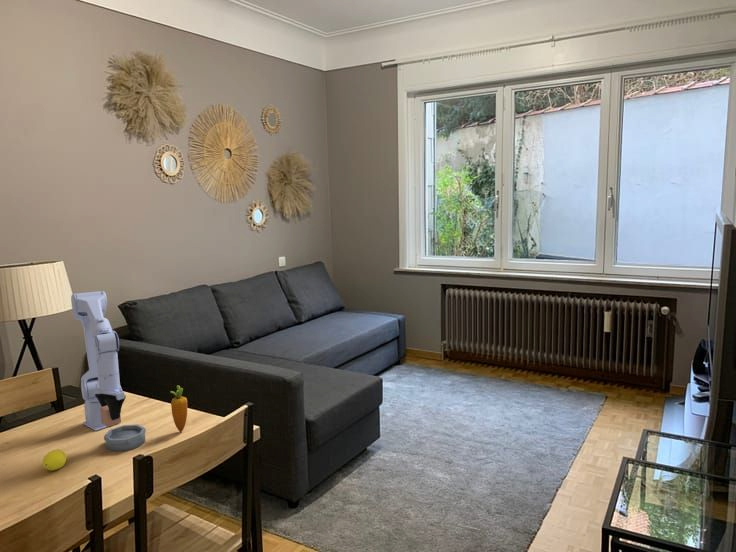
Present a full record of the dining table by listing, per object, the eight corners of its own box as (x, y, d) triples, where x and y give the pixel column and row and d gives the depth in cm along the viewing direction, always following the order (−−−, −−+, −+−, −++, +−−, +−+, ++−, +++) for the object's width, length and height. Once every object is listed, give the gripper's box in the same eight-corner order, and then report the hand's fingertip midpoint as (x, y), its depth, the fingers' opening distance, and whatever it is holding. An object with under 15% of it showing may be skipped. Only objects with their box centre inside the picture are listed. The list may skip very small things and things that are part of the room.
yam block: (101, 423, 163) (100, 407, 162) (114, 419, 166) (113, 403, 165) (107, 426, 161) (106, 410, 160) (121, 422, 164) (119, 406, 163)
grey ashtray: (99, 444, 165) (98, 433, 165) (134, 432, 173) (133, 421, 173) (116, 455, 158) (115, 443, 158) (152, 441, 166) (151, 430, 166)
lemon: (54, 465, 154) (53, 446, 154) (72, 465, 153) (71, 446, 153) (36, 474, 147) (36, 454, 147) (55, 475, 146) (55, 455, 146)
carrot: (184, 435, 171) (181, 389, 168) (169, 434, 172) (166, 389, 169) (192, 429, 175) (189, 384, 173) (178, 428, 176) (175, 383, 174)
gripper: (83, 371, 163) (87, 415, 165) (105, 382, 154) (109, 427, 156) (107, 366, 168) (111, 408, 170) (130, 375, 159) (133, 419, 161)
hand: (112, 417), depth 163 cm, fingers closed on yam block, 4 cm apart
